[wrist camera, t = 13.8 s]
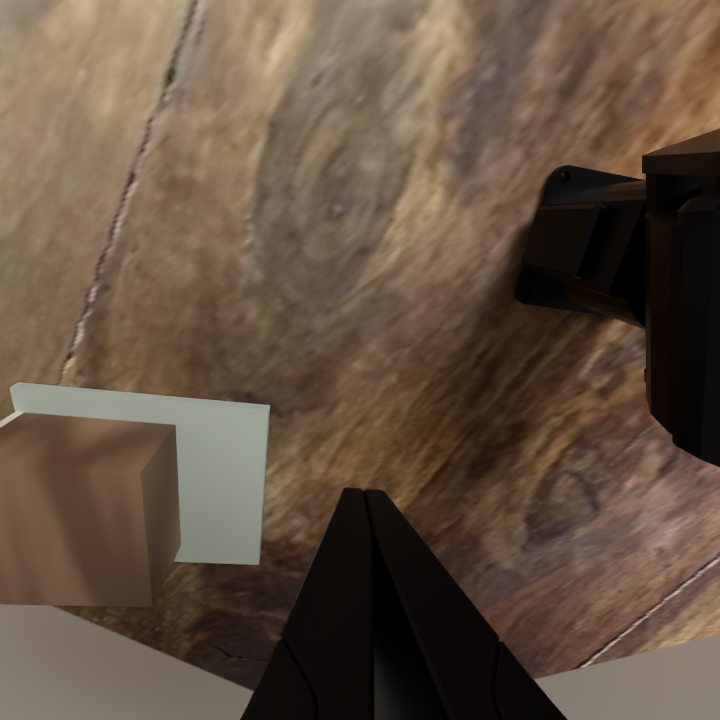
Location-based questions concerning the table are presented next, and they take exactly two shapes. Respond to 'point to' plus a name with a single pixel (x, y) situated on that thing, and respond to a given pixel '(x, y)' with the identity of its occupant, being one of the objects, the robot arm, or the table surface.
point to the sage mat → (189, 460)
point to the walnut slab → (86, 510)
